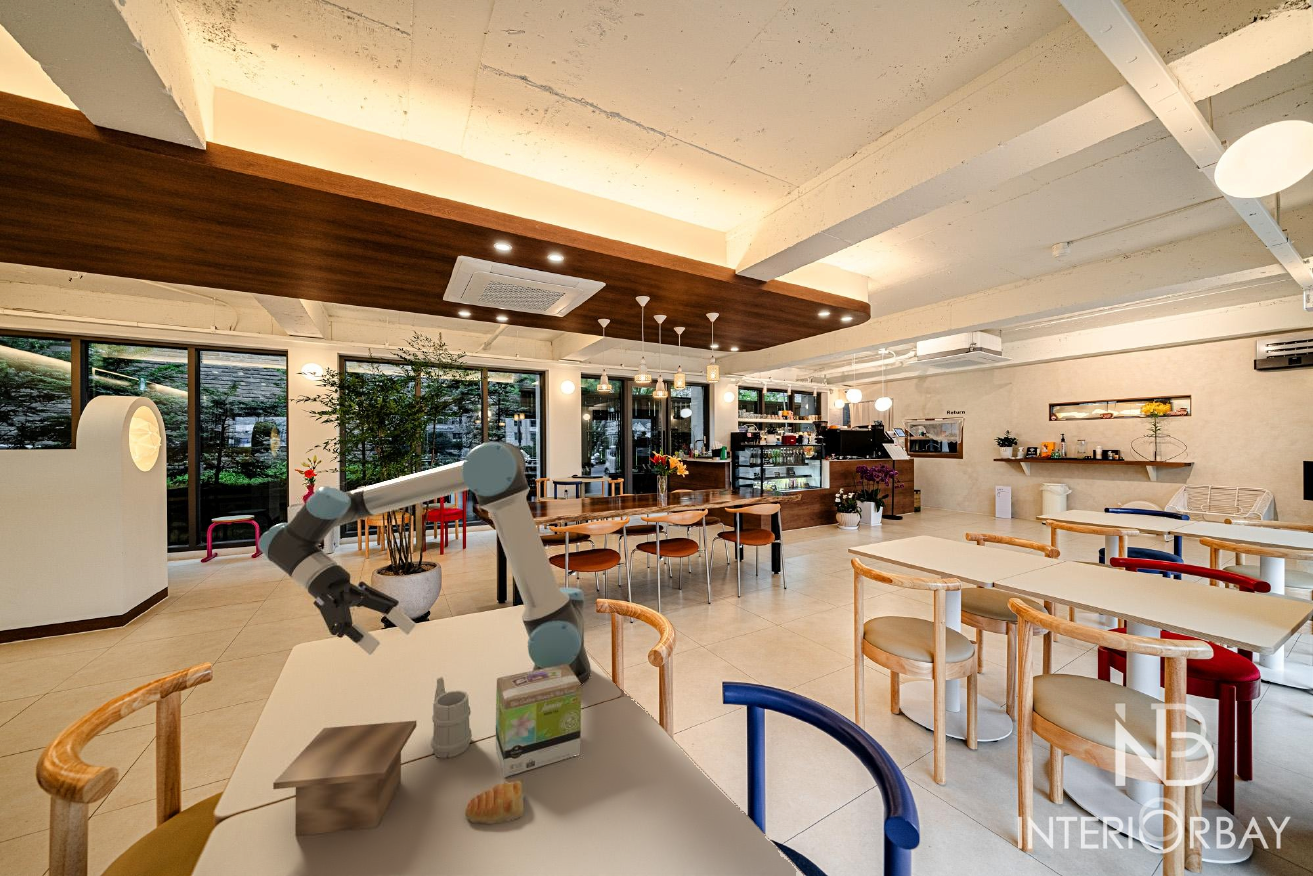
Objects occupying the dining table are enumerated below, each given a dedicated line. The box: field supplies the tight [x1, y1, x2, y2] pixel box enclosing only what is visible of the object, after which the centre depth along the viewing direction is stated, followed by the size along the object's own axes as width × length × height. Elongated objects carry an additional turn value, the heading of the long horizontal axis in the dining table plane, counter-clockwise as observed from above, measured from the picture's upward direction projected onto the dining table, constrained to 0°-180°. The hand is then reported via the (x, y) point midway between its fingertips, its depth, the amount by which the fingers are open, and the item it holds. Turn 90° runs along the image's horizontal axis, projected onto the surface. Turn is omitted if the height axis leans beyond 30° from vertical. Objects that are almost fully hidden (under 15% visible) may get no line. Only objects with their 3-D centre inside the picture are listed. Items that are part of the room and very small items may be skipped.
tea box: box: [494, 664, 582, 779], centre depth 95 cm, size 15×10×15 cm, turn 117°
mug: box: [430, 676, 473, 759], centre depth 98 cm, size 8×12×12 cm, turn 46°
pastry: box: [465, 779, 525, 825], centre depth 80 cm, size 9×7×4 cm
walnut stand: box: [272, 720, 418, 837], centre depth 81 cm, size 16×14×10 cm
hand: (394, 638), depth 103 cm, fingers open, 13 cm apart
